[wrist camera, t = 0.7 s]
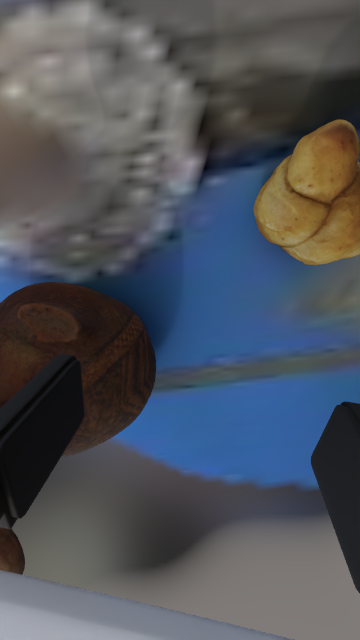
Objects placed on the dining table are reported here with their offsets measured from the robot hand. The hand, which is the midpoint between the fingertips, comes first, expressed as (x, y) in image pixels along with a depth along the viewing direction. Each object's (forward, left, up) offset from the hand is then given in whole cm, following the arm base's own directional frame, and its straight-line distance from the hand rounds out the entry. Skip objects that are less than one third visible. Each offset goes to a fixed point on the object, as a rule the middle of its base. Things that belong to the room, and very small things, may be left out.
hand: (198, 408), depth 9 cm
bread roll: (-7, +10, -25) cm, 27 cm away
